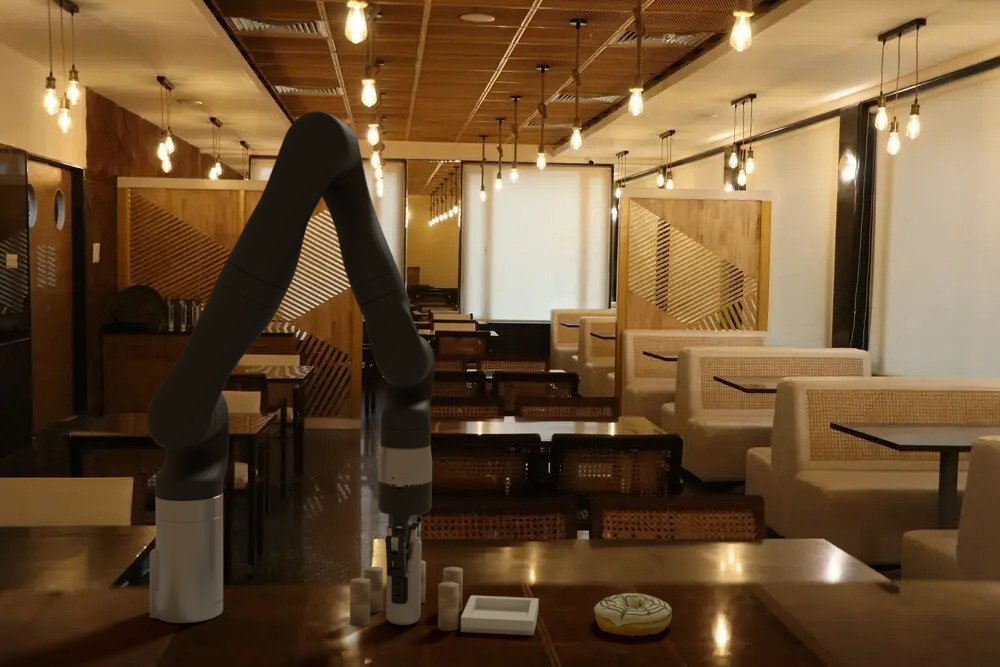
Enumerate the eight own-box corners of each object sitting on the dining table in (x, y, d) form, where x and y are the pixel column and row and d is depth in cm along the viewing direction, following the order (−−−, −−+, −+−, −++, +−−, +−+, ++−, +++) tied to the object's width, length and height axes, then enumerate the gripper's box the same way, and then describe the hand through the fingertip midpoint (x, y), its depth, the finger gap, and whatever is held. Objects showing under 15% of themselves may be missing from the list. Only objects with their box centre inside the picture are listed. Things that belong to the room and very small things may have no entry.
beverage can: (414, 627, 141) (416, 541, 140) (381, 624, 141) (382, 539, 141) (424, 616, 145) (425, 533, 145) (392, 613, 146) (393, 531, 146)
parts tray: (460, 631, 140) (461, 617, 139) (470, 608, 149) (470, 595, 149) (533, 635, 138) (533, 620, 138) (538, 611, 148) (538, 598, 148)
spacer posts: (347, 625, 141) (347, 583, 141) (369, 596, 154) (370, 557, 154) (456, 631, 140) (457, 588, 139) (469, 601, 153) (469, 562, 153)
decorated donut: (580, 620, 146) (581, 594, 146) (645, 611, 150) (645, 586, 150) (617, 644, 136) (618, 616, 136) (685, 633, 140) (685, 606, 140)
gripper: (389, 467, 150) (388, 581, 151) (366, 486, 136) (365, 612, 136) (439, 469, 149) (438, 583, 150) (422, 488, 135) (420, 615, 136)
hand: (403, 596), depth 143 cm, fingers closed on beverage can, 4 cm apart
